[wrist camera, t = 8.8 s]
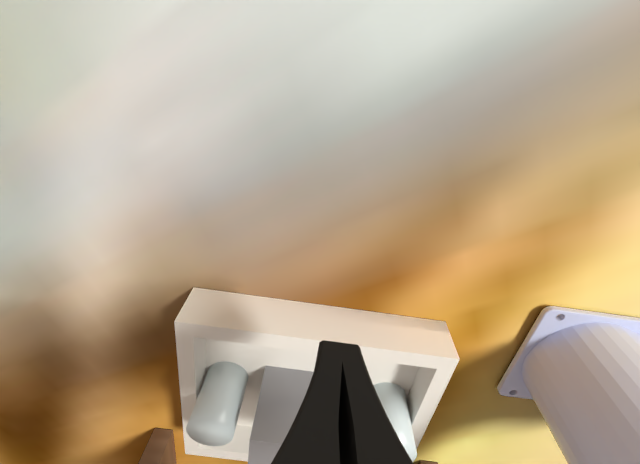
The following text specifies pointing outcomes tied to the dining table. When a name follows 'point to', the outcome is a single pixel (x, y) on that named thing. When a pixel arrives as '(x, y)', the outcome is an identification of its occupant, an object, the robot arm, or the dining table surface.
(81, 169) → the dining table surface
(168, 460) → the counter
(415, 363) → the white tray
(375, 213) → the dining table surface
